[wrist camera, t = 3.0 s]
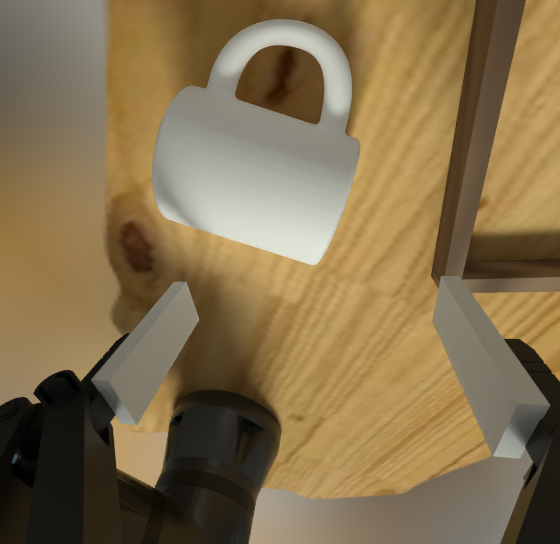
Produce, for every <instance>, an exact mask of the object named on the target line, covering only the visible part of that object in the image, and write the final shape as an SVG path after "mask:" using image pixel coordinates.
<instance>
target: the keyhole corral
mask: <svg viewBox="0 0 560 544" xmlns="http://www.w3.org/2000/svg"><path fill="white" fill-rule="evenodd" d="M525 1H526V0H477V2H476V8H475V14H474V20H473V26H472V32H471V38H470V44H469V50H468V56H467V63H466V69H465V75H464V81H463V87H462V93H461V99H460V105H459V111H458V117H457V123H456V129H455V135H454V141H453V147H452V153H451V159H450V165H449V171H448V177H447V183H446V189H445V195H444V201H443V208H442V214H441V220H440V226H439V232H438V238H437V244H436V250H435V256H434V262H433V268H432V274H431V277H432V279H433V280H434V282H435V284H436V285H437V287H438V289H439V284H440V279H441V276H459V277H460V278H461V279H462V281H463V282H464V284H465V285H466V287H467V288H468V289H469V291H470V292H471V293H494V292H551V291H560V259H551V260H523V261H495V262H466V258H467V254H468V250H469V245H470V241H471V236H472V232H473V228H474V223H475V219H476V215H477V210H478V206H479V202H480V197H481V193H482V188H483V184H484V180H485V175H486V171H487V167H488V162H489V158H490V154H491V149H492V145H493V141H494V136H495V132H496V127H497V123H498V119H499V114H500V110H501V106H502V101H503V97H504V93H505V88H506V84H507V80H508V75H509V71H510V66H511V62H512V58H513V53H514V49H515V45H516V40H517V36H518V32H519V27H520V23H521V19H522V14H523V10H524V5H525Z"/></svg>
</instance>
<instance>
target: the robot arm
mask: <svg viewBox="0 0 560 544" xmlns="http://www.w3.org/2000/svg"><path fill="white" fill-rule="evenodd" d="M198 321H199V317H198V314H197V311H196V308H195V305H194V302H193V300H192V297H191V294H190V291H189V288H188V285H187V282H174V283H173V284H172V285H171V286H170V287H169V288H168V290H167V291H166V292H165V293H164V294H163V296H162V297H161V298H160V299H159V300H158V301H157V303H156V304H155V305H154V306H153V307H152V309H151V310H150V311H149V312H148V313H147V314H146V316H145V317H144V318H143V319H142V320H141V322H140V323H139V324H138V325H137V326H136V327H135V329H134V330H133V331H132V332H131V333H127V334H125V335H124V336H123V337H121V338H120V339H119V340H117V341H116V342H115V343H114V344H113V346H112V347H111V348H110V349H109V351H107V352H106V353H105V355H104V356H103V358H101V359H100V361H98V363H97V364H96V365H95V366H94V367H93V368H92V370H91V371H90V372H89V373H88V374H87V375H86V376H85V377H84V379H83V380H82V381H81V382H80V380H79V379H78V378H77V376H76V375H75V373H74V372H73V371H70V370H64V371H60V372H57V373H55V374H53V375H51V376H49V377H48V378H47V379H45V380H44V381H42V382H41V383H40V384H39V385H38V386H37V388H36V389H35V391H34V395H35V396H36V397H37V398H38V399H39V400H40V402H41V403H37V404H32V403H31V402H30V401H29V400H28V399H27V398H25V397H19V398H15V399H12V400H10V401H8V402H6V403H5V404H3V405H1V406H0V544H249V539H250V533H251V527H252V522H253V516H254V510H255V505H256V500H257V496H258V494H259V492H260V490H261V488H262V486H263V484H264V482H265V480H266V477H267V475H268V473H269V471H270V469H271V467H272V465H273V463H274V460H275V458H276V456H277V454H278V450H279V445H280V438H281V429H280V426H279V423H278V421H277V420H276V418H275V417H274V416H273V415H272V414H271V413H270V412H269V411H268V410H267V409H266V408H264V407H263V406H262V405H260V404H258V403H257V402H255V401H253V400H251V399H249V398H246V397H244V396H241V395H238V394H235V393H231V392H226V391H217V390H206V391H198V392H194V393H191V394H189V395H187V396H185V397H184V398H183V399H181V400H180V402H179V403H178V405H177V407H176V409H175V411H174V413H173V415H172V417H171V420H170V425H169V431H168V437H167V443H166V450H165V456H164V462H163V468H162V472H161V474H160V476H159V479H158V481H157V483H156V485H155V488H153V487H151V486H150V485H148V484H146V483H144V482H142V481H140V480H138V479H136V478H134V477H132V476H130V475H128V474H126V473H124V472H123V471H121V470H119V469H117V468H116V460H115V447H114V436H113V427H112V425H111V423H110V422H111V420H112V419H113V417H114V416H116V417H117V419H118V420H119V421H120V423H121V424H132V425H137V424H138V422H139V421H140V419H141V417H142V416H143V414H144V412H145V411H146V409H147V407H148V406H149V404H150V402H151V401H152V399H153V397H154V395H155V394H156V392H157V390H158V389H159V387H160V385H161V384H162V382H163V380H164V379H165V377H166V375H167V373H168V372H169V370H170V368H171V367H172V365H173V363H174V362H175V360H176V358H177V357H178V355H179V353H180V352H181V350H182V348H183V346H184V345H185V343H186V341H187V340H188V338H189V336H190V335H191V333H192V331H193V330H194V328H195V326H196V324H197V323H198ZM433 323H434V325H435V328H436V330H437V332H438V334H439V337H440V339H441V341H442V343H443V346H444V348H445V350H446V352H447V355H448V357H449V359H450V361H451V363H452V366H453V368H454V370H455V372H456V375H457V377H458V379H459V381H460V384H461V386H462V388H463V390H464V393H465V395H466V397H467V399H468V401H469V404H470V406H471V408H472V410H473V413H474V415H475V417H476V419H477V422H478V424H479V426H480V428H481V431H482V433H483V435H484V437H485V439H486V442H487V444H488V446H489V448H490V451H491V453H492V455H493V456H498V457H509V458H520V457H521V456H522V454H523V452H524V450H525V449H526V450H527V451H528V453H529V455H530V457H531V459H532V461H533V463H532V465H531V466H530V468H529V469H528V471H527V473H526V474H525V476H524V477H523V479H525V482H524V484H523V487H522V489H521V492H520V494H519V497H518V499H517V502H516V505H515V507H514V510H513V512H512V515H511V517H510V520H509V523H508V525H507V528H506V530H505V533H504V536H503V538H502V541H501V543H500V544H560V382H559V380H558V379H557V378H556V377H555V375H554V374H552V373H551V372H552V371H551V370H550V369H549V368H548V366H547V365H546V364H544V361H543V360H542V359H541V358H540V356H539V355H538V354H537V353H536V351H535V350H534V349H533V348H531V347H530V346H528V345H527V344H526V343H524V342H523V341H521V340H520V339H503V337H502V336H501V335H500V333H499V332H498V330H497V329H496V328H495V326H494V325H493V323H492V322H491V320H490V319H489V318H488V316H487V315H486V313H485V312H484V311H483V309H482V308H481V306H480V305H479V303H478V302H477V301H476V299H475V298H474V296H473V295H472V294H471V292H470V291H469V289H468V288H467V287H466V285H465V284H464V282H463V281H462V279H461V278H460V277H459V276H441V279H440V284H439V289H438V294H437V300H436V305H435V310H434V316H433Z"/></svg>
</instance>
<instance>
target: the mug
mask: <svg viewBox="0 0 560 544" xmlns="http://www.w3.org/2000/svg"><path fill="white" fill-rule="evenodd" d="M273 45H285V46H292V47H296V48H300V49H303V50H305V51H307V52H309V53H310V54H312V55H313V56H314V57H315V58H316V59H317V60H318V62H319V64H320V66H321V69H322V72H323V77H324V100H323V108H322V113H321V118H320V121H319V123H318V124H311V123H308V122H305V121H302V120H299V119H296V118H293V117H290V116H287V115H284V114H281V113H278V112H275V111H271V110H268V109H265V108H262V107H259V106H256V105H253V104H250V103H247V102H244V101H241V100H238V99H237V98H236V96H235V91H236V88H237V85H238V82H239V79H240V76H241V74H242V72H243V70H244V68H245V66H246V64H247V63H248V61H249V60H250V58H251V57H252V56H253V55H254V54H255V53H256V52H258V51H259V50H261V49H263V48H265V47H268V46H273ZM351 101H352V76H351V71H350V66H349V63H348V60H347V58H346V55H345V54H344V52H343V50H342V48H341V47H340V46H339V44H338V43H337V42H336V41H335V40H334V39H333V38H332V37H331V36H330V35H329V34H328V33H326V32H325V31H323V30H322V29H320V28H318V27H316V26H314V25H312V24H309V23H306V22H302V21H298V20H291V19H274V20H267V21H263V22H259V23H256V24H253V25H251V26H249V27H247V28H245V29H243V30H241V31H240V32H238V33H237V34H236V35H235V36H233V37H232V38H231V39H230V40H229V41H228V42H227V44H226V45H225V46H224V47H223V49H222V50H221V52H220V53H219V55H218V57H217V59H216V61H215V63H214V66H213V68H212V71H211V74H210V77H209V81H208V85H207V87H206V88H201V87H198V86H188V87H185V88H183V89H182V90H181V91H179V92H178V93H177V94H176V96H175V97H174V98H173V100H172V101H171V103H170V104H169V106H168V108H167V110H166V112H165V114H164V117H163V119H162V122H161V125H160V128H159V131H158V135H157V139H156V143H155V149H154V156H153V167H152V181H153V191H154V196H155V201H156V204H157V206H158V208H159V210H160V212H161V213H162V215H163V216H164V217H165V218H167V219H169V220H171V221H174V222H178V223H181V224H184V225H187V226H190V227H193V228H197V229H200V230H203V231H206V232H209V233H212V234H216V235H219V236H222V237H225V238H228V239H231V240H234V241H238V242H241V243H244V244H247V245H250V246H253V247H257V248H260V249H263V250H266V251H269V252H272V253H275V254H279V255H282V256H285V257H288V258H291V259H294V260H298V261H301V262H304V263H307V264H310V265H315V264H317V263H318V262H319V261H320V260H321V258H322V257H323V255H324V253H325V252H326V250H327V248H328V246H329V244H330V242H331V239H332V237H333V235H334V233H335V230H336V228H337V226H338V223H339V220H340V218H341V215H342V213H343V210H344V207H345V204H346V201H347V199H348V196H349V193H350V189H351V186H352V183H353V179H354V176H355V172H356V168H357V164H358V159H359V153H360V143H359V140H358V139H357V138H354V137H351V136H348V135H347V134H346V132H345V130H346V126H347V122H348V118H349V113H350V108H351Z"/></svg>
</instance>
